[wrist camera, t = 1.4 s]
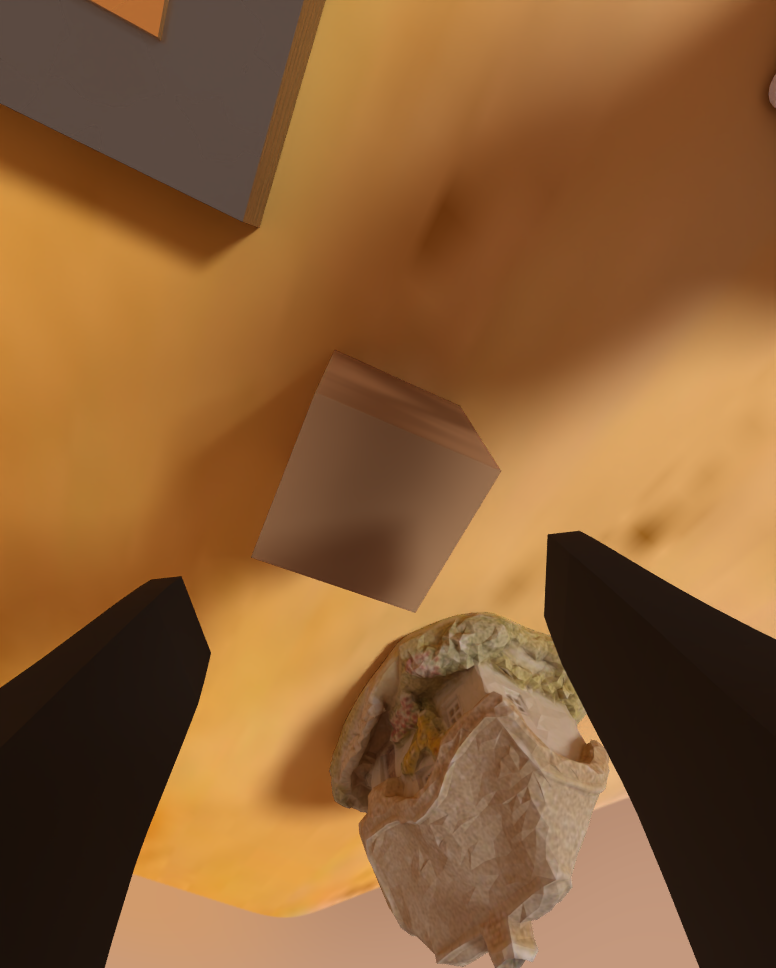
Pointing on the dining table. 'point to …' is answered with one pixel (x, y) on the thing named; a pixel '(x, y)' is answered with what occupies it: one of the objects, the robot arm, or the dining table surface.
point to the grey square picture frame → (166, 85)
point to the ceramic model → (470, 784)
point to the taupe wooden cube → (376, 486)
